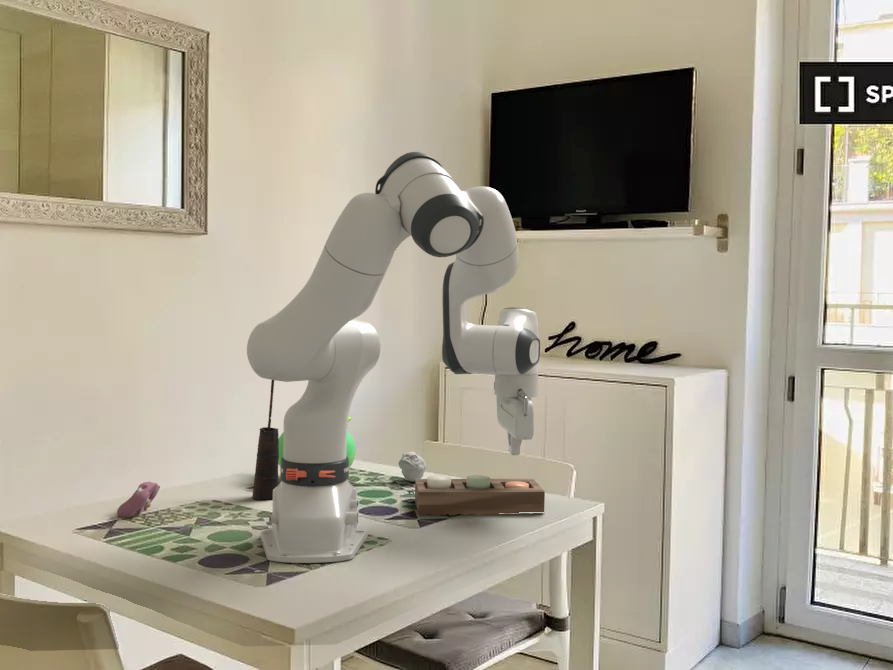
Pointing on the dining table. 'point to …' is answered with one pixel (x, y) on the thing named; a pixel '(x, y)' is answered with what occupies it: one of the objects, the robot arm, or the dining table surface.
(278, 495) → the robot arm
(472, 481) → the sage button
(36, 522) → the dining table surface
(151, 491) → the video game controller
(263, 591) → the dining table surface
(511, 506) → the button panel
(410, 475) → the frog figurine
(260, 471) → the butter churn
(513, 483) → the terracotta button
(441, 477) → the cream button
